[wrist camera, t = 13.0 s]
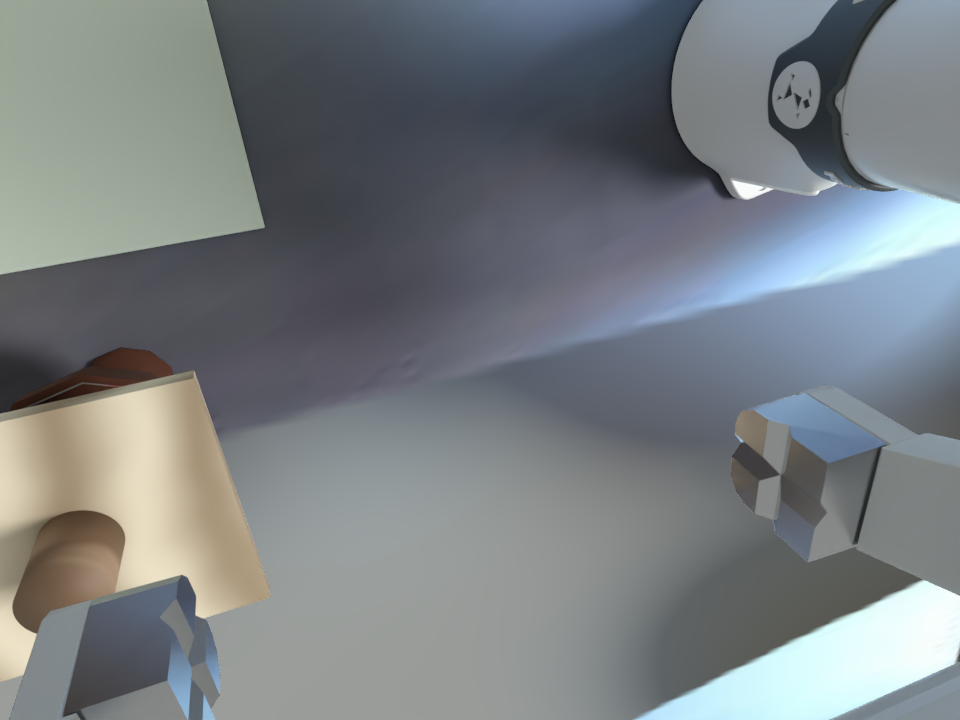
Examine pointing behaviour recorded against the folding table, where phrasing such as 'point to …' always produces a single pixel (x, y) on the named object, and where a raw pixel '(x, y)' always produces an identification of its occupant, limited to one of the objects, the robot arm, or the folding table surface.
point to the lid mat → (115, 131)
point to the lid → (116, 507)
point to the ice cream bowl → (100, 377)
